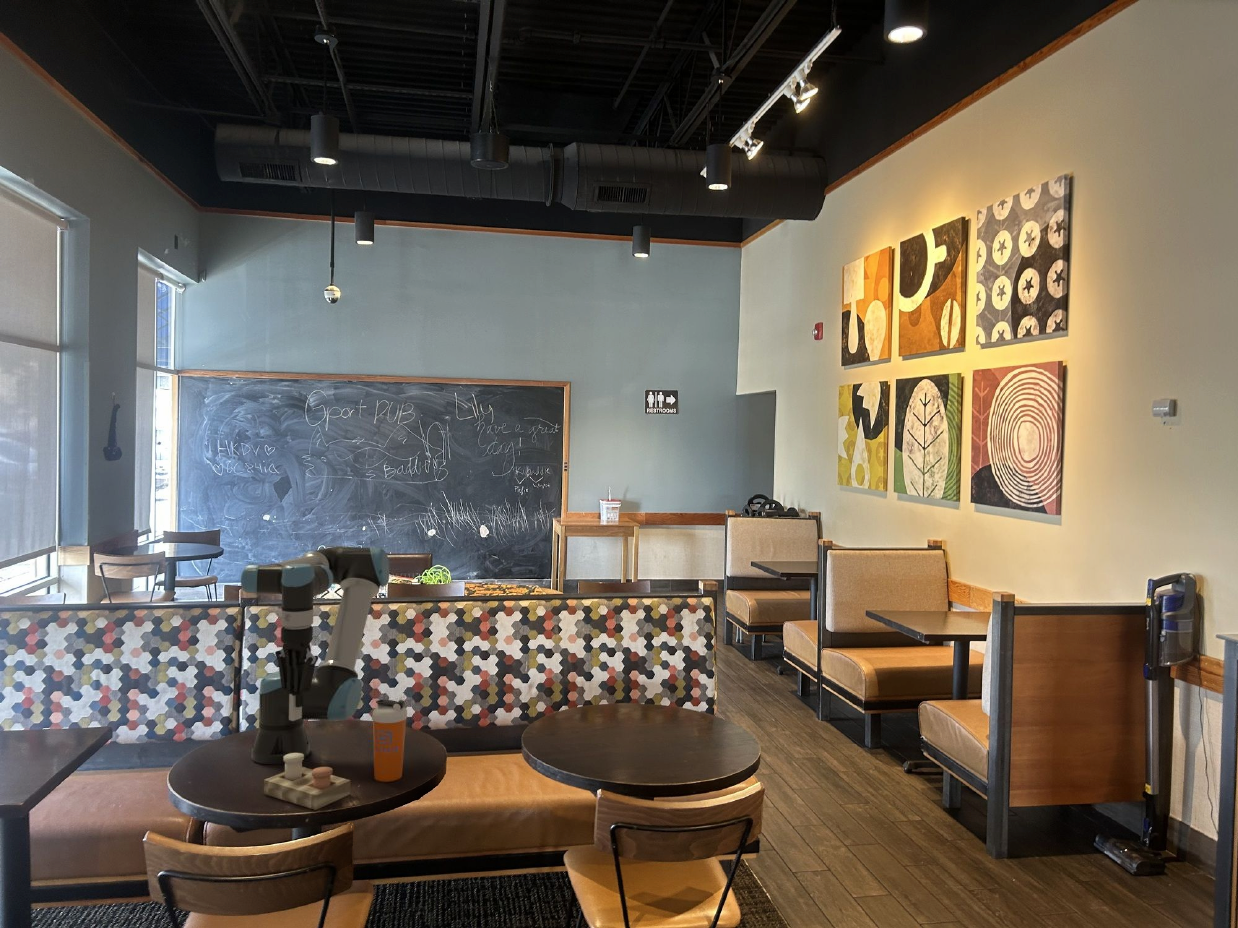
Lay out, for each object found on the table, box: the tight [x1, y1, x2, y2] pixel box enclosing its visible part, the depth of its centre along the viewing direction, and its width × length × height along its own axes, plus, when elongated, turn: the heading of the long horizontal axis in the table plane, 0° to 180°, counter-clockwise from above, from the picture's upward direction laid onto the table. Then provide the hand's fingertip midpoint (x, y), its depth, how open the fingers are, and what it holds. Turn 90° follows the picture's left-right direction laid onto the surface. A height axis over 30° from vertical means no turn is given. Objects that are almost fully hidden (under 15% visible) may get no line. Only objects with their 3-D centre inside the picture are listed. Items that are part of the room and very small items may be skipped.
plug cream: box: [283, 753, 305, 781], centre depth 213 cm, size 5×5×7 cm
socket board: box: [263, 766, 351, 811], centre depth 211 cm, size 18×11×4 cm, turn 62°
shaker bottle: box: [371, 698, 408, 783], centre depth 224 cm, size 9×9×20 cm
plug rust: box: [312, 766, 333, 790], centre depth 209 cm, size 5×5×7 cm
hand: (295, 718), depth 214 cm, fingers closed
